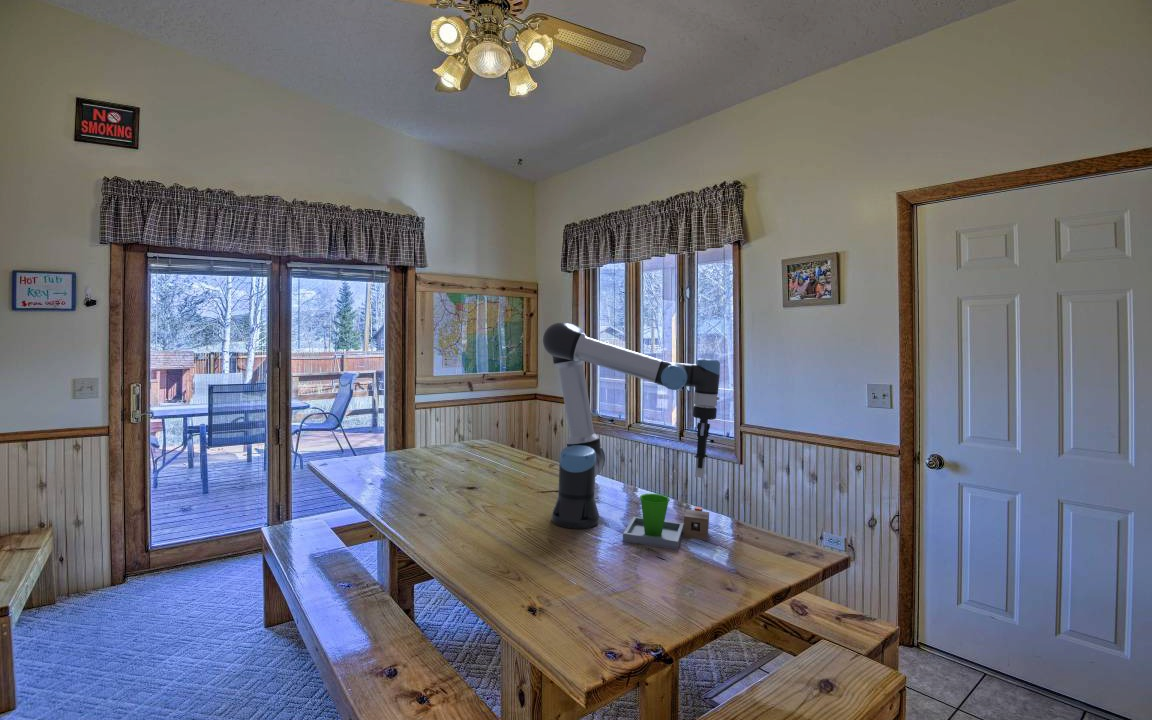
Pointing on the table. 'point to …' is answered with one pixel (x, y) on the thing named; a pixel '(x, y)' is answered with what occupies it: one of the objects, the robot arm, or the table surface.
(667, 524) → the tray
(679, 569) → the table surface
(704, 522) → the mount
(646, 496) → the cup
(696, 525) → the pin
